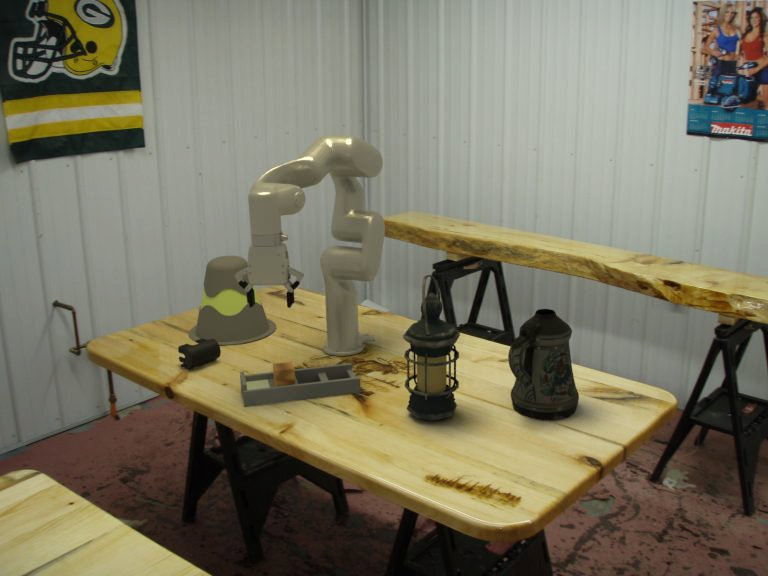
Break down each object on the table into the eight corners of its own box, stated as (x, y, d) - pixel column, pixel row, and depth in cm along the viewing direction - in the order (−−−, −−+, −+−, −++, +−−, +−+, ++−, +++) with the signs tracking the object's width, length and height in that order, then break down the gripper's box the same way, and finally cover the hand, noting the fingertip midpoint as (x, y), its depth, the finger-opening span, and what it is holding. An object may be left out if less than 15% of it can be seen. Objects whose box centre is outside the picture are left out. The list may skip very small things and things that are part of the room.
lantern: (452, 430, 183) (452, 286, 173) (397, 423, 187) (395, 283, 177) (464, 404, 196) (465, 270, 186) (413, 399, 200) (411, 267, 190)
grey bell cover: (170, 335, 250) (162, 262, 243) (233, 311, 272) (228, 244, 265) (232, 352, 235) (225, 275, 228) (293, 325, 256) (289, 254, 250)
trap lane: (351, 376, 215) (351, 357, 213) (360, 392, 204) (359, 373, 203) (241, 389, 208) (239, 370, 206) (244, 406, 198) (242, 386, 196)
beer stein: (583, 398, 198) (589, 304, 191) (568, 431, 181) (573, 329, 174) (519, 388, 205) (522, 297, 198) (499, 419, 188) (501, 321, 181)
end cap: (193, 373, 220) (191, 350, 218) (178, 367, 224) (176, 345, 222) (222, 362, 227) (220, 340, 225) (206, 356, 231) (205, 335, 229)
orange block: (292, 379, 207) (291, 361, 206) (295, 386, 203) (294, 368, 201) (273, 381, 206) (272, 363, 205) (276, 388, 202) (275, 370, 200)
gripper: (304, 236, 195) (307, 301, 200) (236, 236, 196) (241, 301, 201) (298, 243, 187) (302, 311, 192) (227, 243, 189) (233, 310, 194)
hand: (271, 305), depth 197 cm, fingers open, 9 cm apart
